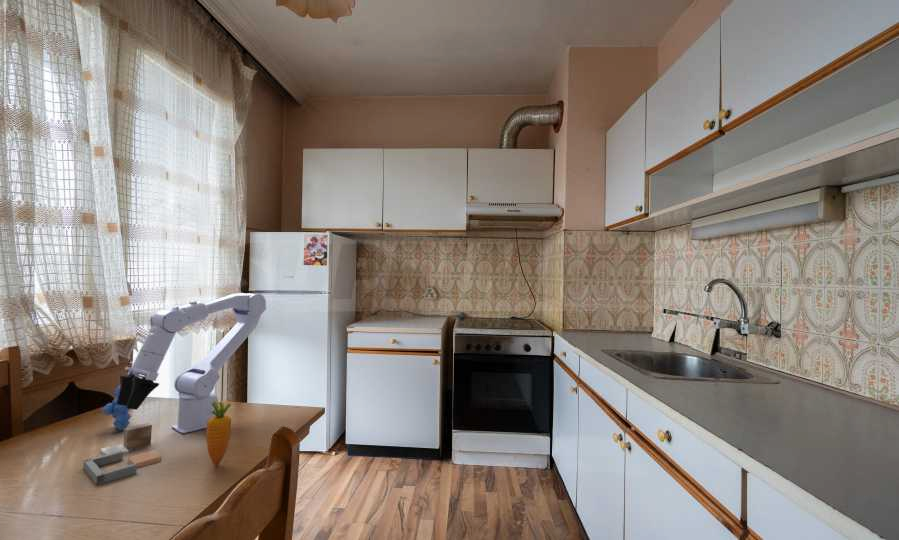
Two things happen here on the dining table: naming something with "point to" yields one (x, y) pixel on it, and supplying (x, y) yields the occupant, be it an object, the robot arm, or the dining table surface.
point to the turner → (132, 439)
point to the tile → (144, 458)
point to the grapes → (118, 412)
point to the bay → (101, 477)
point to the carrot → (218, 433)
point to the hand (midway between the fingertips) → (126, 406)
